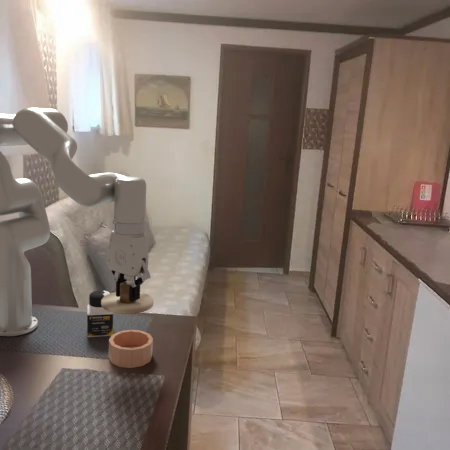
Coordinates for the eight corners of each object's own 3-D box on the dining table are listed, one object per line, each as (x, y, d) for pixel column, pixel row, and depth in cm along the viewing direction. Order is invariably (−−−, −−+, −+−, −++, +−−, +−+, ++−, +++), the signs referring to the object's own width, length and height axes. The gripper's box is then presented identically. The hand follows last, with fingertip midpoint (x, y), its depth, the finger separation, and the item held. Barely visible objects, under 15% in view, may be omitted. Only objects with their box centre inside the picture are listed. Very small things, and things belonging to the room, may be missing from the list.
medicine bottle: (87, 337, 135) (87, 297, 133) (87, 326, 142) (87, 288, 139) (113, 336, 137) (113, 296, 135) (111, 325, 144) (112, 287, 141)
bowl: (100, 357, 125) (100, 340, 124) (130, 342, 134) (130, 326, 133) (131, 372, 120) (131, 354, 118) (160, 355, 129) (160, 338, 127)
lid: (90, 303, 120) (90, 283, 119) (127, 289, 131) (128, 271, 130) (127, 318, 113) (127, 297, 112) (163, 303, 124) (164, 283, 123)
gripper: (94, 223, 119) (93, 293, 123) (143, 237, 110) (141, 311, 114) (116, 219, 125) (115, 285, 129) (165, 231, 116) (162, 302, 120)
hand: (127, 297), depth 122 cm, fingers closed on lid, 4 cm apart
